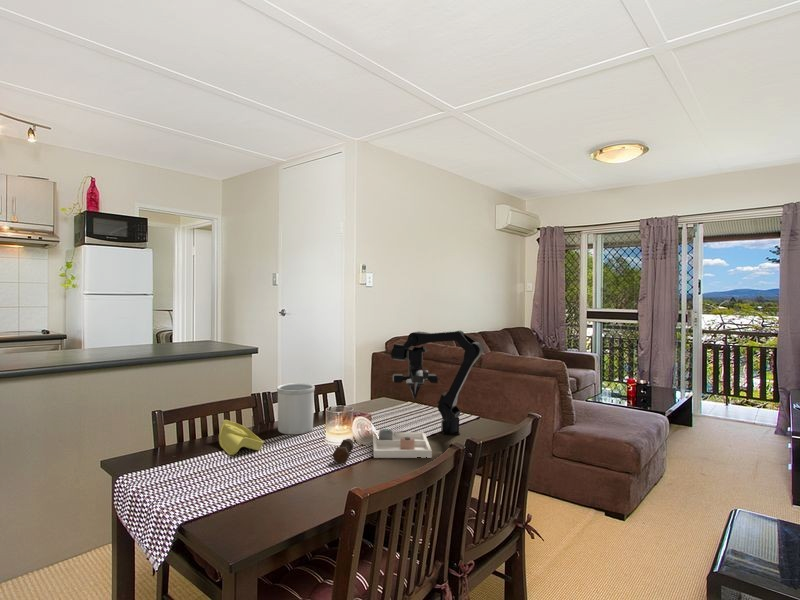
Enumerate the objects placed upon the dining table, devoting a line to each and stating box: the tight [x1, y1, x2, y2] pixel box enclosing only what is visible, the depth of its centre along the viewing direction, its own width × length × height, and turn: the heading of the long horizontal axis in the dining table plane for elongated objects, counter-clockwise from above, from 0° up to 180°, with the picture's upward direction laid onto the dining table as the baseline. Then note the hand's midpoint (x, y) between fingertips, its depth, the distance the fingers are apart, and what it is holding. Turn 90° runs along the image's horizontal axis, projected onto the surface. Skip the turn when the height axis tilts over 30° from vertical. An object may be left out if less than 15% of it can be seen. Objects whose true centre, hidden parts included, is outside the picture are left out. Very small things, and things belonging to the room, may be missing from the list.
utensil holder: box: [276, 382, 316, 435], centre depth 187 cm, size 15×15×18 cm
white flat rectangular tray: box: [372, 429, 433, 459], centre depth 174 cm, size 20×29×2 cm
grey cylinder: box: [379, 428, 394, 440], centre depth 174 cm, size 5×5×5 cm
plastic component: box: [218, 419, 265, 456], centre depth 167 cm, size 20×7×10 cm
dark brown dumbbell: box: [331, 438, 355, 464], centre depth 161 cm, size 6×5×15 cm
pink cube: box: [400, 437, 415, 450], centre depth 166 cm, size 5×5×5 cm
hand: (414, 398), depth 196 cm, fingers closed
